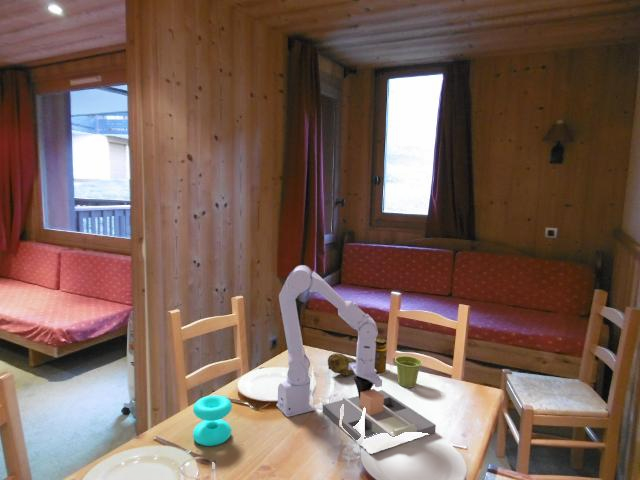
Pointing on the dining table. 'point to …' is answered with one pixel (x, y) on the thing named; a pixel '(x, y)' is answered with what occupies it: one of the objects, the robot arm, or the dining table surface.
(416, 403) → the dining table surface
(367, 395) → the terracotta block
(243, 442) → the dining table surface
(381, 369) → the condiment
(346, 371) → the potato
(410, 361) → the plant pot
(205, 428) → the donuts
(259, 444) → the dining table surface
